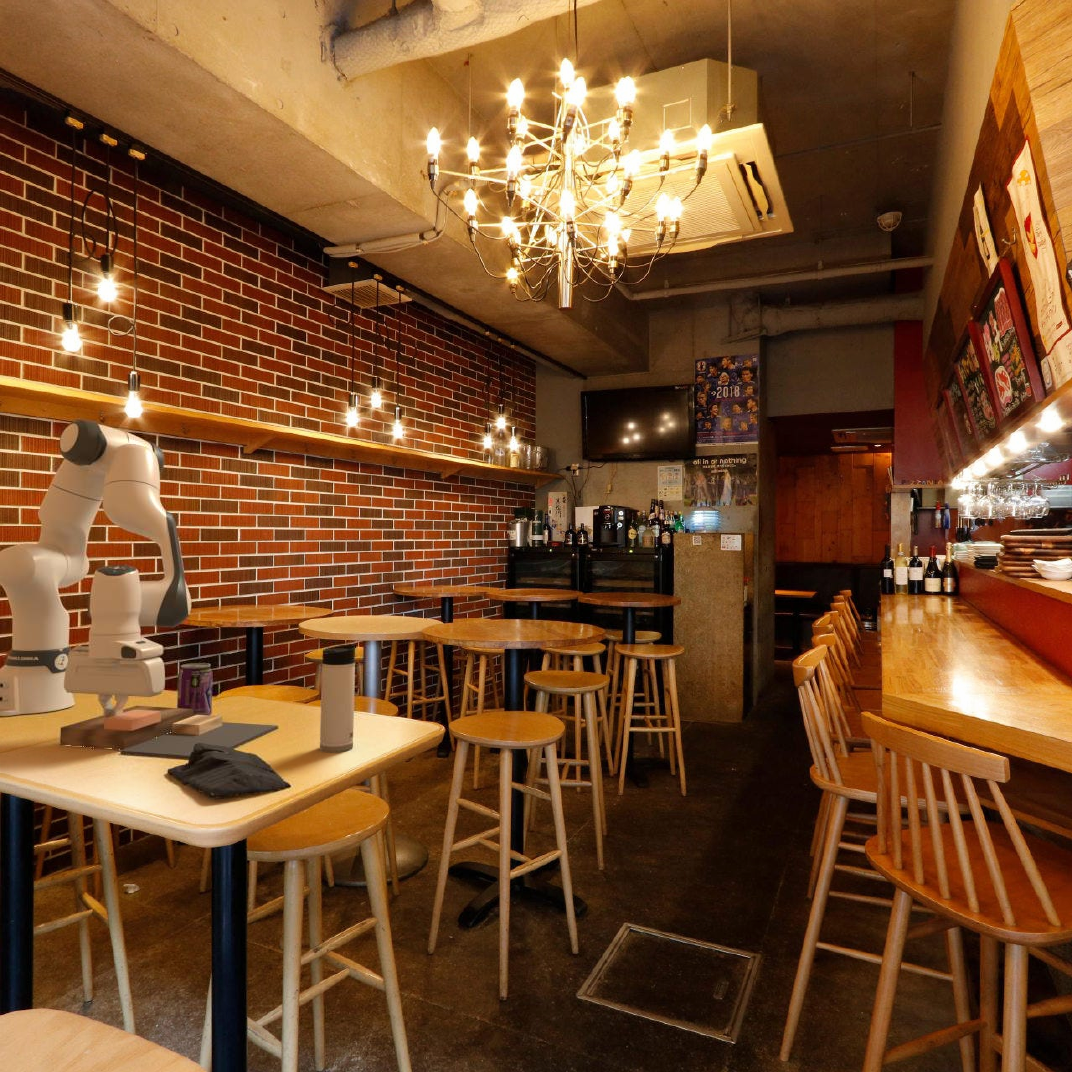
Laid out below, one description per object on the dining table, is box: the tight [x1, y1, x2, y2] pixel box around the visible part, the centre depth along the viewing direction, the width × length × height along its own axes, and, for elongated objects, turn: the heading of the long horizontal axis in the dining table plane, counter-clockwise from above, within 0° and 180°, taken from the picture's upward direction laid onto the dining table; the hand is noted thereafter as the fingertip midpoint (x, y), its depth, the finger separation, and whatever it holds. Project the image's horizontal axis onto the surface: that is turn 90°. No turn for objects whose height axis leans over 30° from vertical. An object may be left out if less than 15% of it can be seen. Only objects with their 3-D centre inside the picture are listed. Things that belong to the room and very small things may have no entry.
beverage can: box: [176, 662, 214, 716], centre depth 160 cm, size 7×7×12 cm
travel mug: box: [319, 643, 357, 753], centre depth 138 cm, size 6×7×20 cm
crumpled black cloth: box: [166, 743, 292, 799], centre depth 118 cm, size 15×22×5 cm
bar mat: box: [120, 721, 279, 760], centre depth 142 cm, size 18×24×1 cm
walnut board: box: [59, 705, 193, 751], centre depth 145 cm, size 14×20×4 cm
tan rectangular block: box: [172, 715, 223, 735], centre depth 148 cm, size 6×8×2 cm
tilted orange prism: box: [104, 710, 161, 731], centre depth 139 cm, size 6×8×2 cm
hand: (113, 717), depth 140 cm, fingers closed
